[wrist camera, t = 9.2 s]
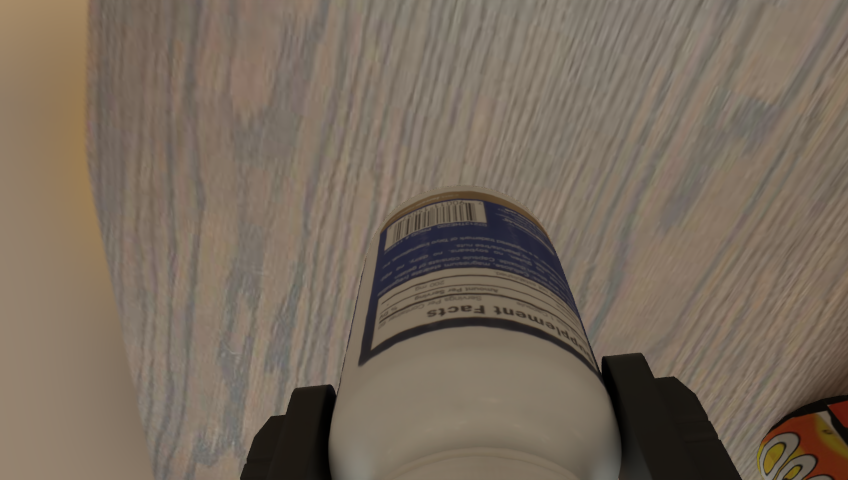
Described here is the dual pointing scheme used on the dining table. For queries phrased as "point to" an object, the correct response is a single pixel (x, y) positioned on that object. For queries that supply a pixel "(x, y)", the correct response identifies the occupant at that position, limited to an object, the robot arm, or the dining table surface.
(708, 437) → the robot arm
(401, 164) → the dining table surface
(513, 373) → the pill bottle
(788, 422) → the beverage can
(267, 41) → the dining table surface
